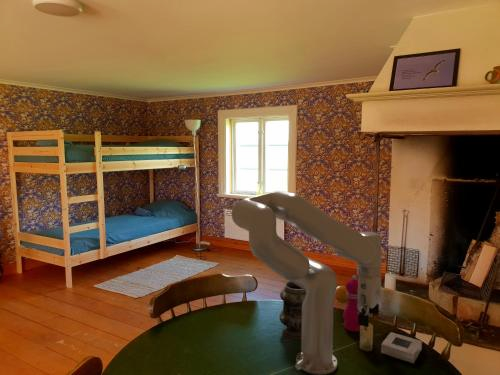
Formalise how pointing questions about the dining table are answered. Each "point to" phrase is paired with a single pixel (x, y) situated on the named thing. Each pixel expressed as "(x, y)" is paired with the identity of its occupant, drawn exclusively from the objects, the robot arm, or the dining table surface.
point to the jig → (401, 347)
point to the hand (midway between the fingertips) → (368, 319)
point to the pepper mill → (351, 305)
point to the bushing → (366, 337)
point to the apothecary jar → (292, 310)
